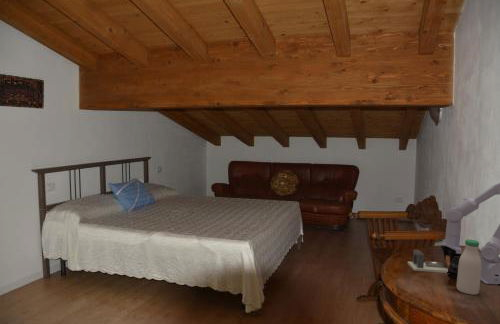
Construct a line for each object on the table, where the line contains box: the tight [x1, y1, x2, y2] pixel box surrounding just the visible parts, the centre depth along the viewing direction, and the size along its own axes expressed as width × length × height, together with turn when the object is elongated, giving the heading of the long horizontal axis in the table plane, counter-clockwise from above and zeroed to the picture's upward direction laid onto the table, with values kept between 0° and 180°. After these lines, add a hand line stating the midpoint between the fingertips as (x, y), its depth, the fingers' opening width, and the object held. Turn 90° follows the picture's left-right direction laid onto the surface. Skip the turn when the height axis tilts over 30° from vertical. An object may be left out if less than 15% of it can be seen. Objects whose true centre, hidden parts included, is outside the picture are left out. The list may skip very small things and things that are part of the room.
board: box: [407, 261, 448, 274], centre depth 172 cm, size 9×18×1 cm, turn 85°
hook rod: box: [424, 255, 450, 268], centre depth 171 cm, size 12×4×5 cm, turn 85°
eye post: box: [412, 249, 425, 268], centre depth 172 cm, size 7×2×6 cm, turn 175°
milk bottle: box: [456, 238, 481, 296], centre depth 148 cm, size 8×8×20 cm
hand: (450, 264), depth 171 cm, fingers open, 5 cm apart
